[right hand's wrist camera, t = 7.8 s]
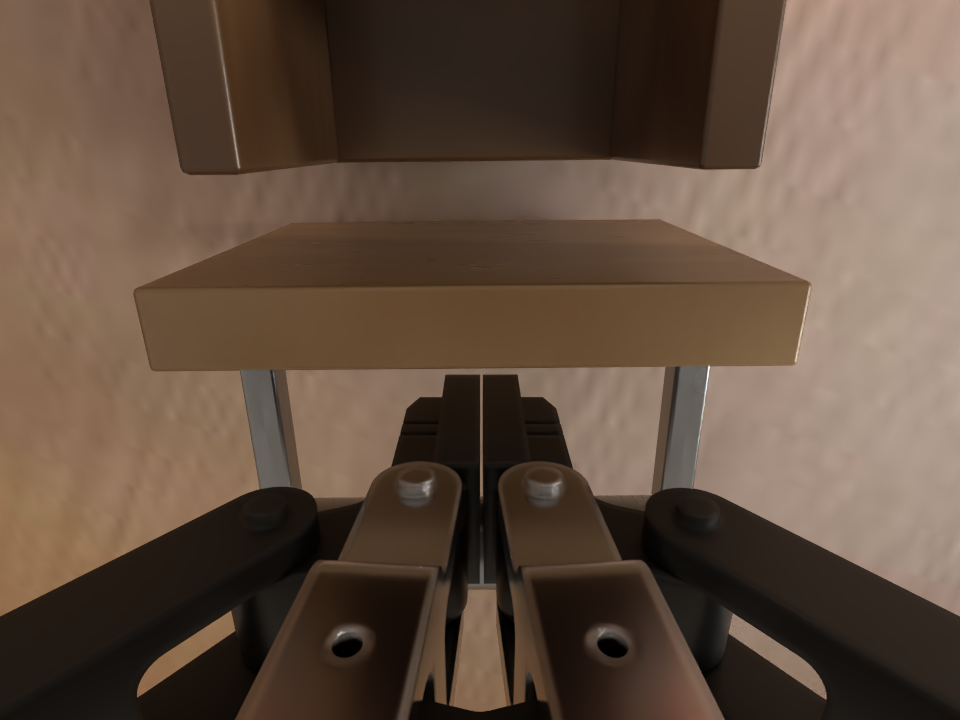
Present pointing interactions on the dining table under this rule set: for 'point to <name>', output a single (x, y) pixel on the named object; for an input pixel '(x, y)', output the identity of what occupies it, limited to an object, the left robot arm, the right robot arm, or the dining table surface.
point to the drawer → (470, 244)
